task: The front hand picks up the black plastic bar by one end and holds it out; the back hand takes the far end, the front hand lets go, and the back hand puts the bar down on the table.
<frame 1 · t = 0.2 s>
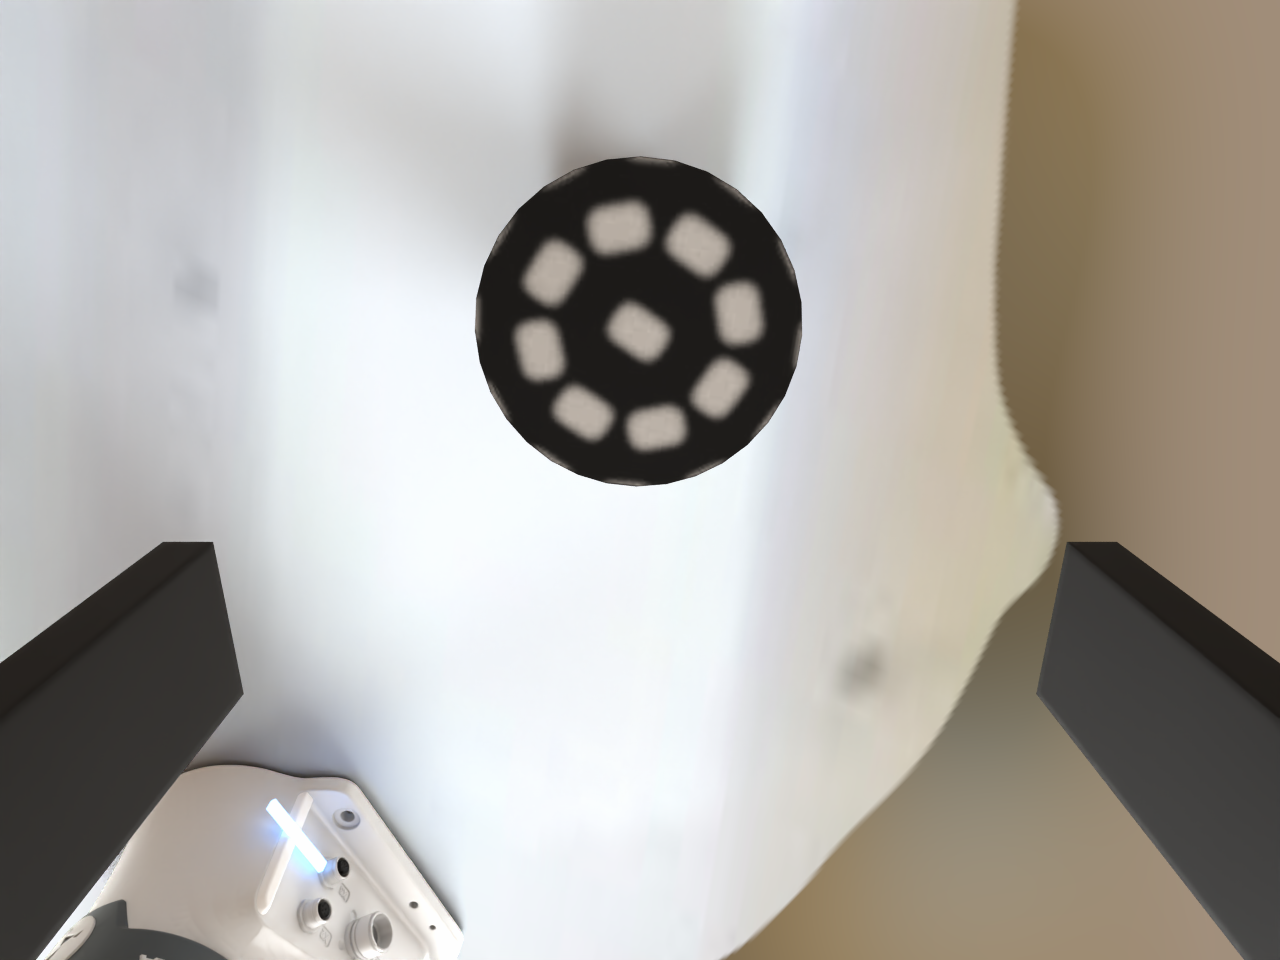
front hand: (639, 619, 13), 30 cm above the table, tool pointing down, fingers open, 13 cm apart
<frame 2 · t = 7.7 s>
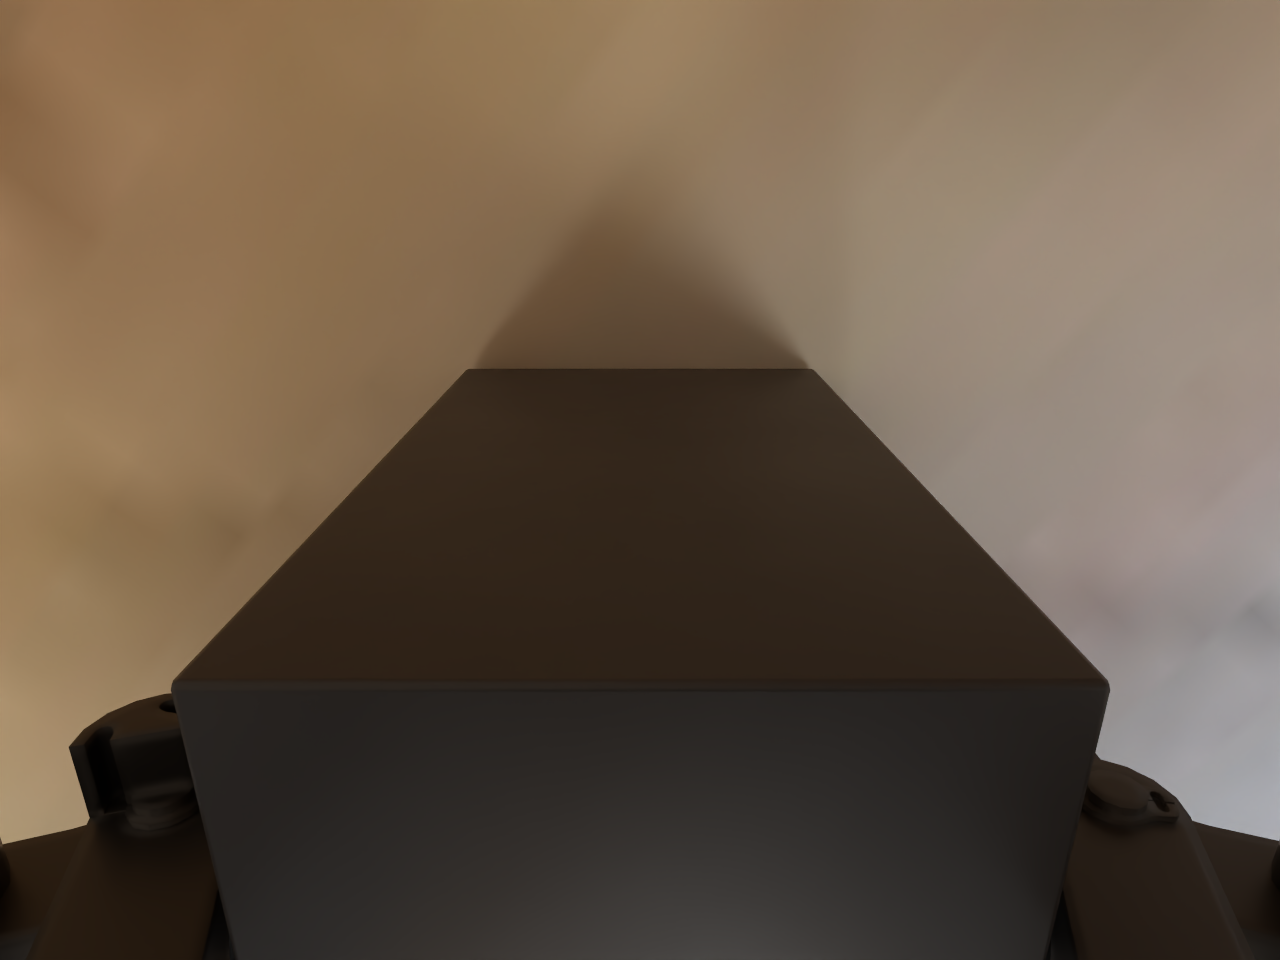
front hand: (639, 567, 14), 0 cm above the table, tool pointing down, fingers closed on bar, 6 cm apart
bar: (640, 956, 18), on the table, touching front hand
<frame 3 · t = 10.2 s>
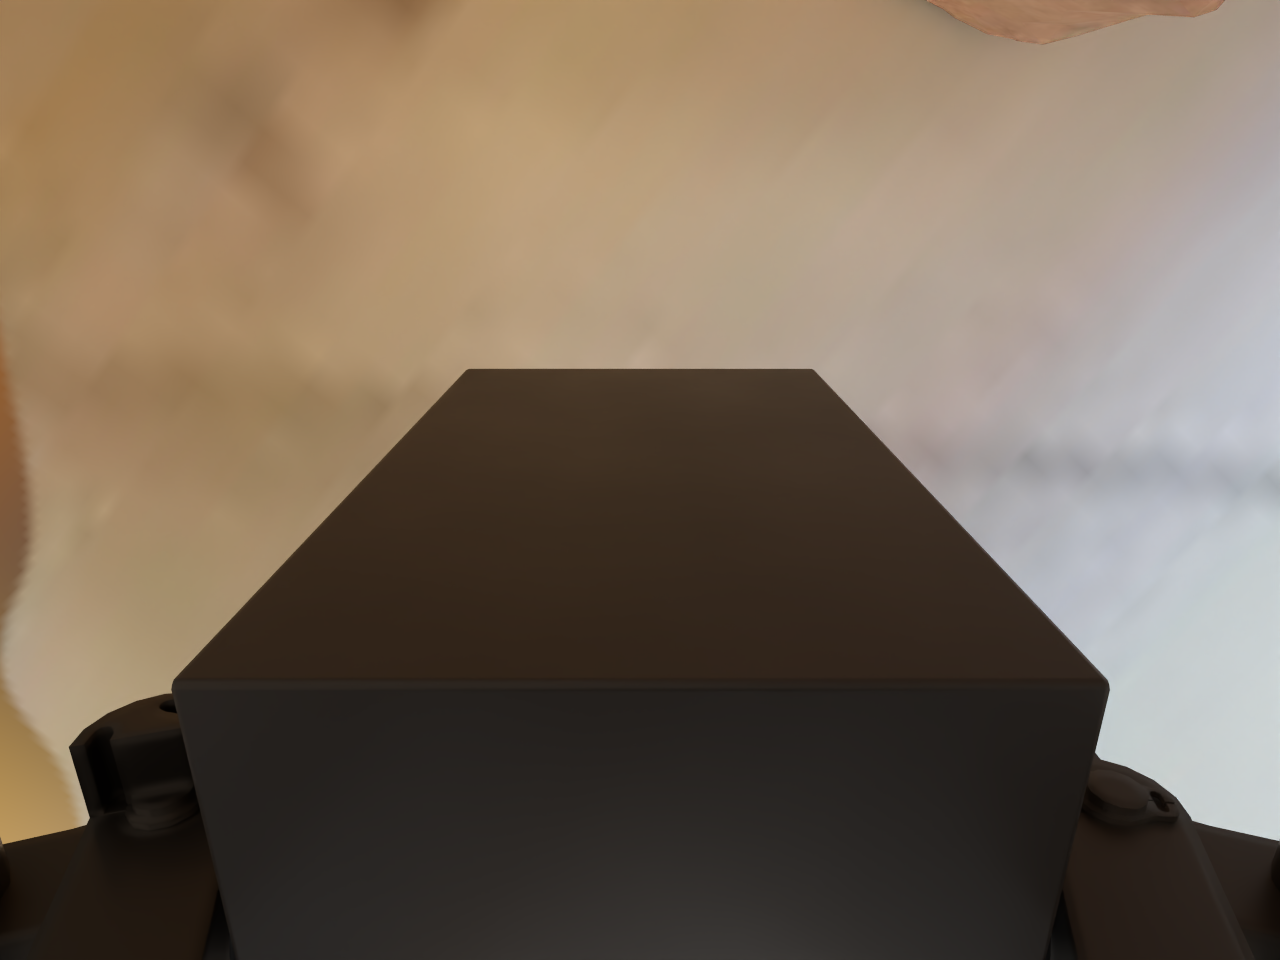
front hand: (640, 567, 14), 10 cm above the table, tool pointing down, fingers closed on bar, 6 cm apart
bar: (640, 955, 18), point 9 cm above the table, touching front hand
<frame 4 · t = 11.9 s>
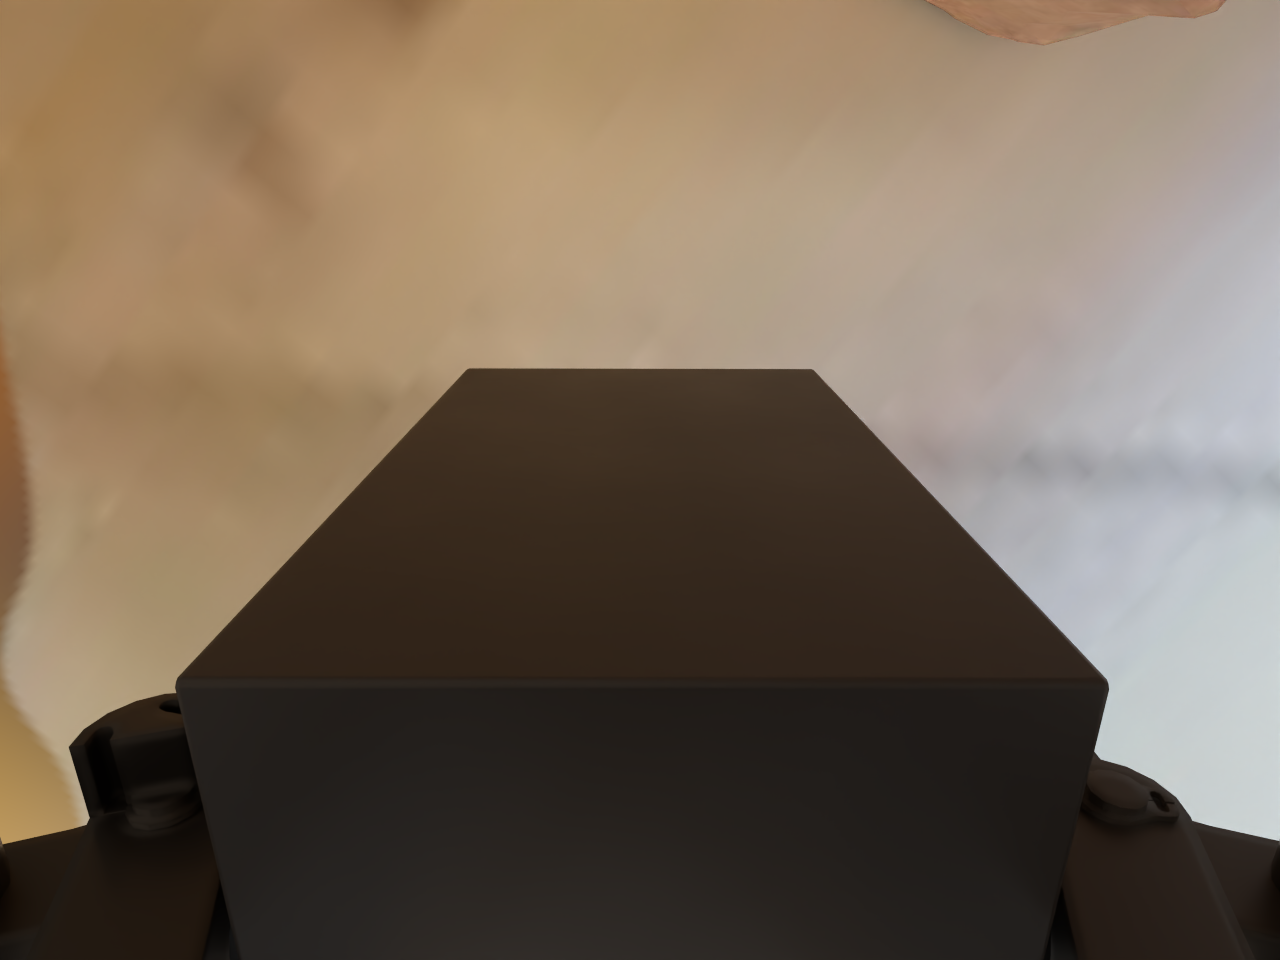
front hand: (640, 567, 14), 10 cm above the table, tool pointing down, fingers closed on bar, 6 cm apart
bar: (638, 954, 18), point 9 cm above the table, touching front hand, back hand
when the front hand's fingers open (10 cm above the table, at t = 12.9 s): bar stays where it is, held by the back hand.
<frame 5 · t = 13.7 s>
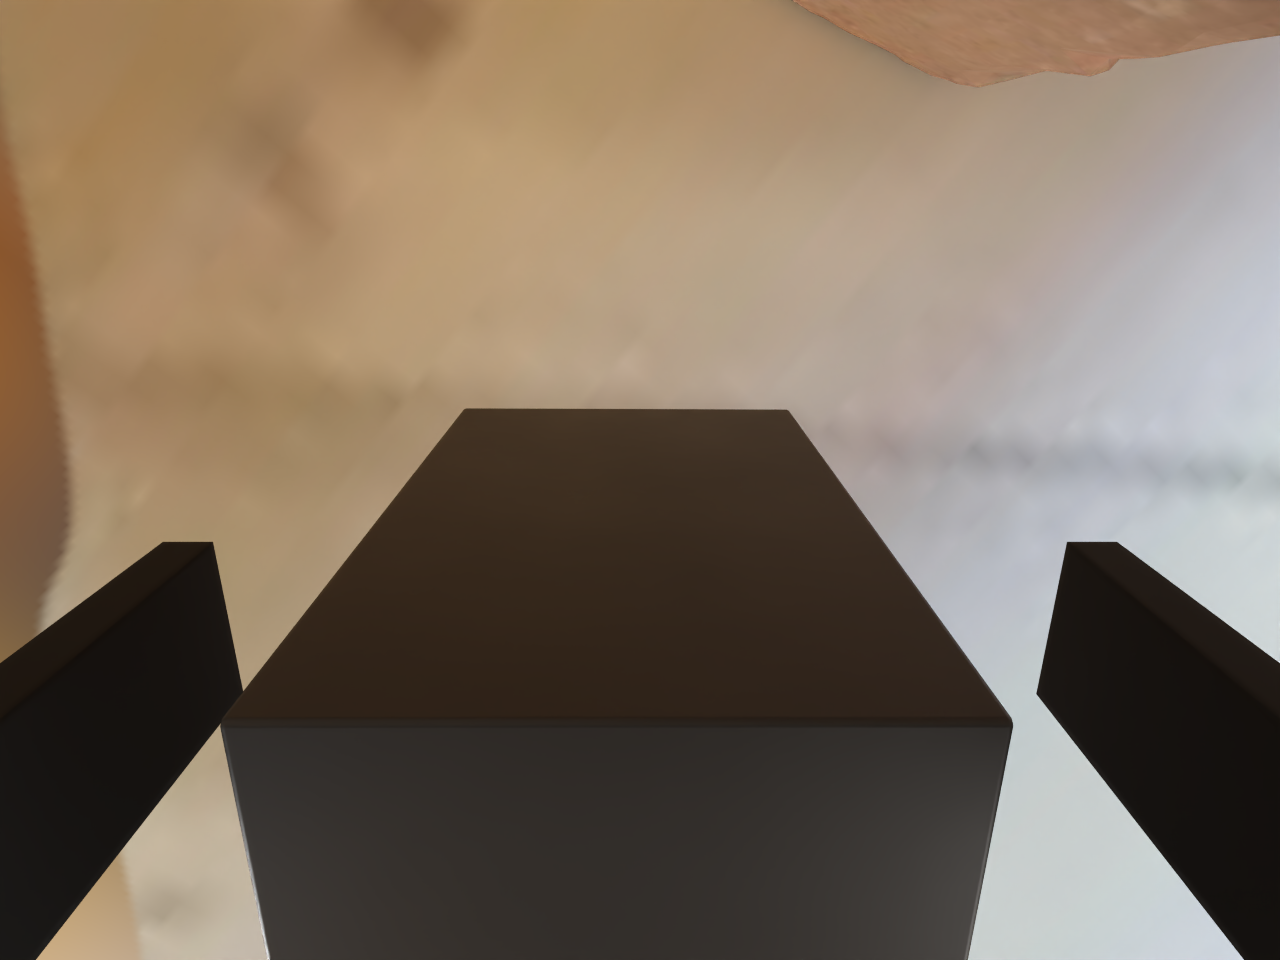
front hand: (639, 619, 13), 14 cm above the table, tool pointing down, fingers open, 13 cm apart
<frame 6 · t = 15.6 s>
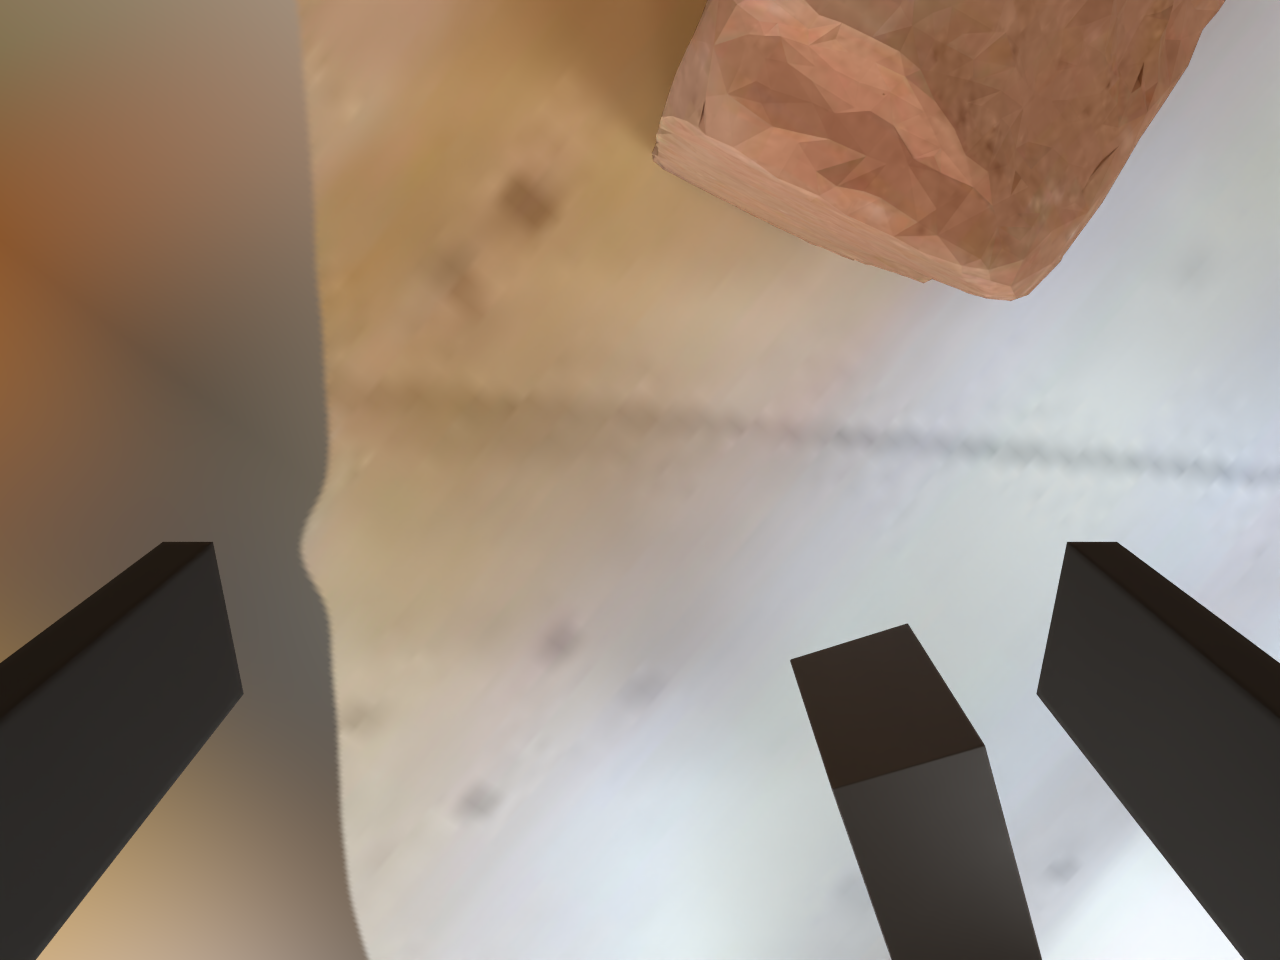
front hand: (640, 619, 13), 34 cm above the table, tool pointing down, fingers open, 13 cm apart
stone: (837, 22, 39), on the table
bar: (914, 849, 43), point 11 cm above the table, touching back hand
when the back hand's fingers open (5 cm above the table, at t = 19.5 s): bar stays where it is, on the table.
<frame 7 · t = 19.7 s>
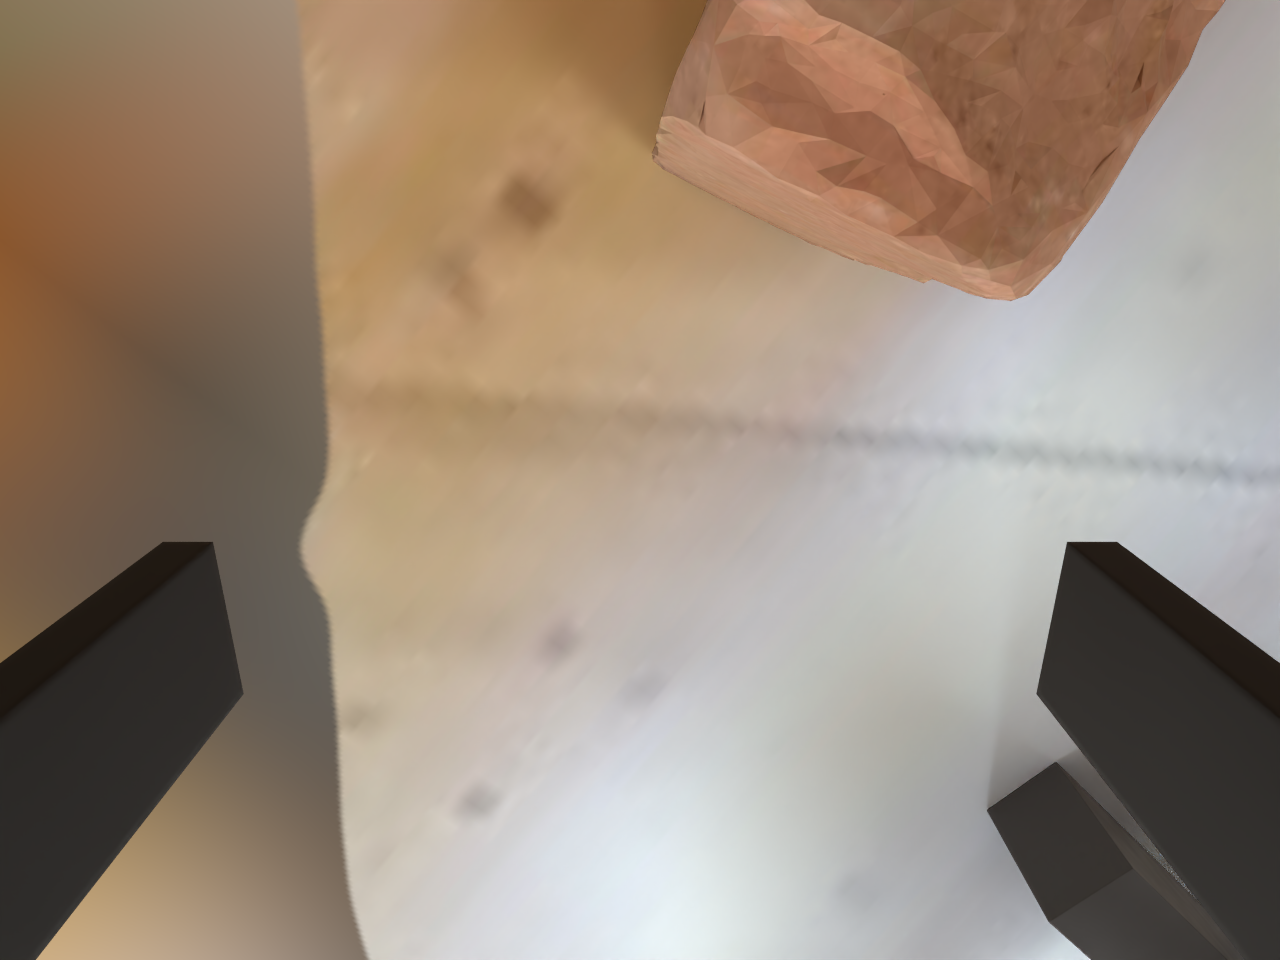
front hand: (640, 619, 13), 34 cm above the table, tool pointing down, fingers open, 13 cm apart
stone: (837, 22, 39), on the table
bar: (1130, 890, 59), on the table
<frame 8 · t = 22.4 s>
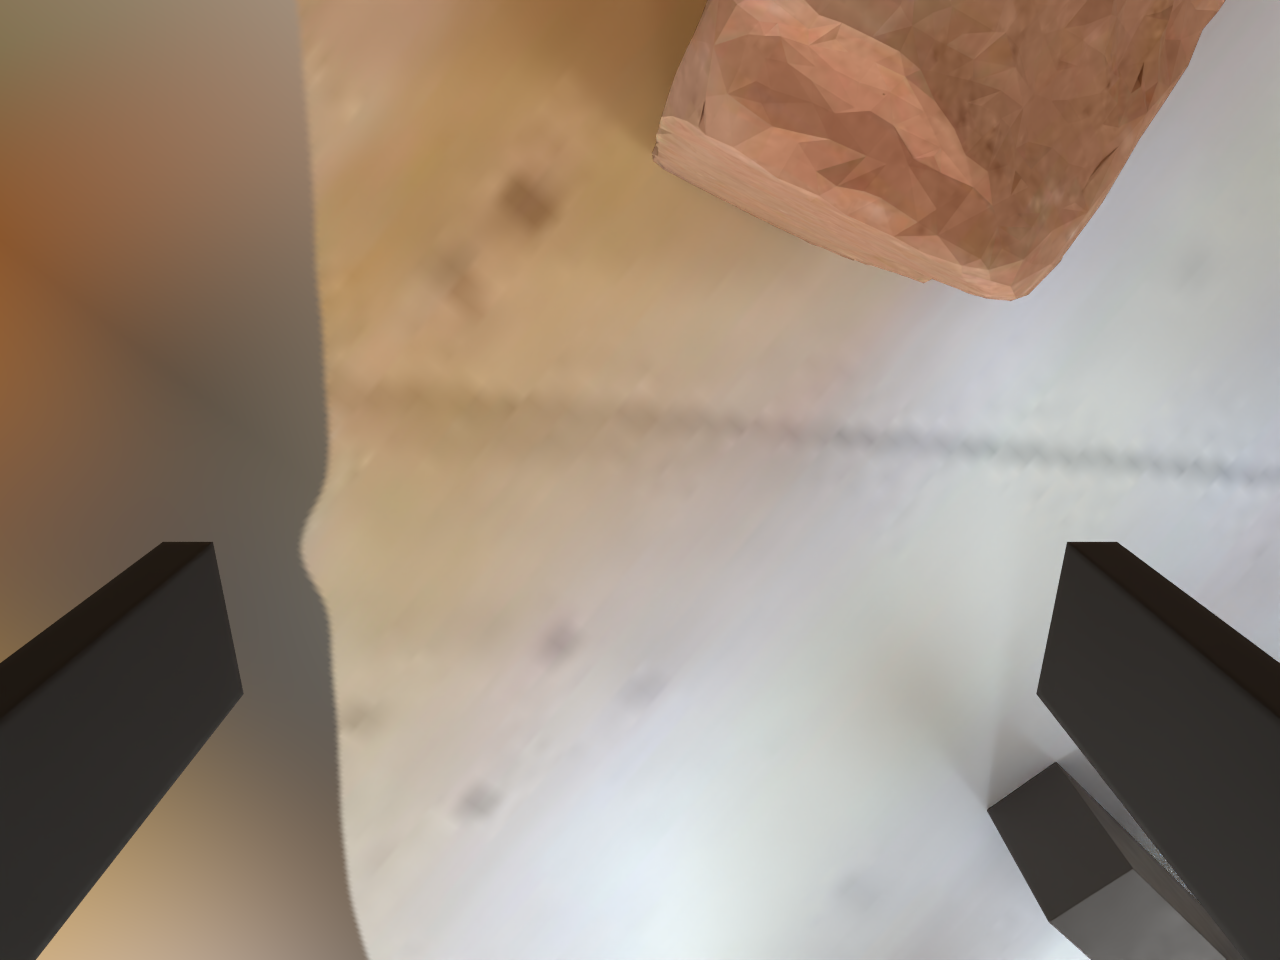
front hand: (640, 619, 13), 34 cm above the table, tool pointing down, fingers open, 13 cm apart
stone: (837, 22, 39), on the table
bar: (1130, 890, 59), on the table
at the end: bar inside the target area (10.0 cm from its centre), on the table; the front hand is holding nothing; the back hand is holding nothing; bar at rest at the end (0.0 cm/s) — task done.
